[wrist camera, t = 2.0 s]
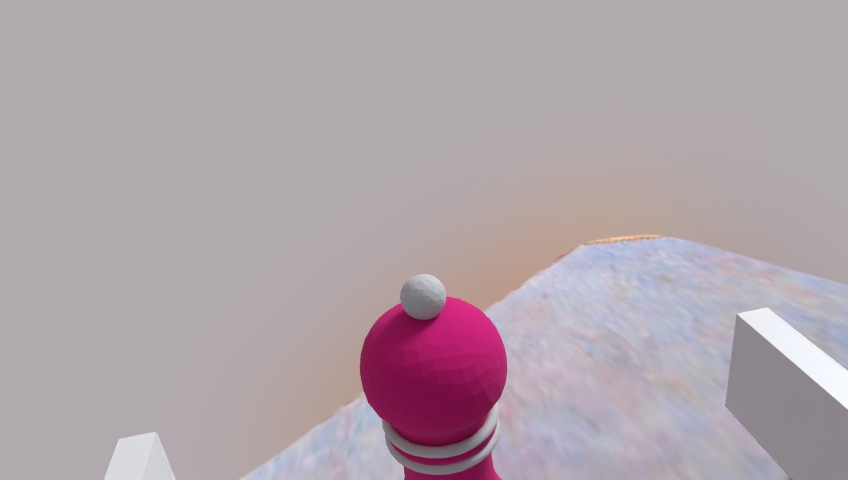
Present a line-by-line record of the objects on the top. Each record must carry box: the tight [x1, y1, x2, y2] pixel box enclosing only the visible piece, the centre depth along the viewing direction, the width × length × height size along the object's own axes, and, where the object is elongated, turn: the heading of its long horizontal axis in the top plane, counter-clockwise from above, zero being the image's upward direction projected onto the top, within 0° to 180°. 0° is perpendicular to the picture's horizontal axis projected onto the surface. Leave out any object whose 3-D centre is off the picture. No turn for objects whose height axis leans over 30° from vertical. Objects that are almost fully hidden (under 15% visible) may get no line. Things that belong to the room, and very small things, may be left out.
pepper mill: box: [360, 274, 507, 480], centre depth 29 cm, size 7×7×20 cm
